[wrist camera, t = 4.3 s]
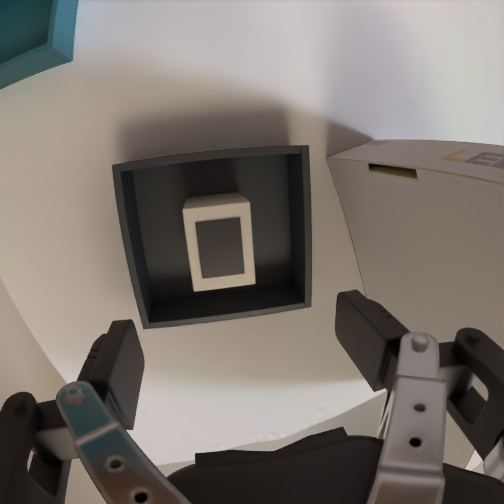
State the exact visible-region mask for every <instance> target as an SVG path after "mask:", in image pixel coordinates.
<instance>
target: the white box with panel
mask: <svg viewBox="0 0 504 504" xmlns="http://www.w3.org/2000/svg"><path fill="white" fill-rule="evenodd" d="M182 211H183V220H184V227H185V235H186V242H187V250H188V257H189V264H190V270H191V277H192V283H193V289H194V291H195V292H196V291H204V290H212V289H220V288H228V287H236V286H243V285H251V284H255V283H256V281H255V267H254V253H253V239H252V225H251V211H250V202H249V201H248V200H247V199H246V198H245V197H244V196H243V195H242V194H241V193H239V192H234V193H224V194H215V195H206V196H197V197H189V198H186V200H185V203H184V207H183V210H182Z"/></svg>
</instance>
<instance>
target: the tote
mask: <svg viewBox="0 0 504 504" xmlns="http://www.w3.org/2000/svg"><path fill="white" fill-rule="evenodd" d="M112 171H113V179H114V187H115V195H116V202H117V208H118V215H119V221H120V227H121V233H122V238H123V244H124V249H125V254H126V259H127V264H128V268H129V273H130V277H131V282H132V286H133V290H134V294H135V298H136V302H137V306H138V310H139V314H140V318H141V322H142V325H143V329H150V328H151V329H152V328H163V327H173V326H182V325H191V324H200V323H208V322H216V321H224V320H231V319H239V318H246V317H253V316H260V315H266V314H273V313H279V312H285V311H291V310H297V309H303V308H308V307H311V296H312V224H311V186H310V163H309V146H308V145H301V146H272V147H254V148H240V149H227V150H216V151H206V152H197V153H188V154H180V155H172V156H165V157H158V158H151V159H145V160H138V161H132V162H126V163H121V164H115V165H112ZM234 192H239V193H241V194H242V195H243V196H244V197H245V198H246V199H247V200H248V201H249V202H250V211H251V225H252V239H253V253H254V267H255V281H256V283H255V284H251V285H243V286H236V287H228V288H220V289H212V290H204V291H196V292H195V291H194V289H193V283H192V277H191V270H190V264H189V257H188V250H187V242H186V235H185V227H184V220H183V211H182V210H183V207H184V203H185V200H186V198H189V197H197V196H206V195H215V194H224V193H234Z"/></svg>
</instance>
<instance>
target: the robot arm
mask: <svg viewBox="0 0 504 504" xmlns="http://www.w3.org/2000/svg"><path fill="white" fill-rule="evenodd" d="M335 333H336V337H337V339H338V341H339V342H340V344H341V345H342V347H343V348H344V349H345V351H346V352H347V354H348V355H349V357H350V358H351V359H352V361H353V362H354V364H355V365H356V367H357V368H358V369H359V371H360V372H361V374H362V375H363V377H364V378H365V379H366V381H367V382H368V384H369V385H370V387H371V388H372V390H373V391H374V392H376V391H379V390H382V389H384V388H386V390H387V391H388V392H387V395H386V399H385V403H384V407H383V411H382V416H381V420H380V424H379V428H378V432H377V435H376V437H370V436H362V435H349V436H347V434H346V432H345V430H344V428H343V427H339V428H336V429H333V430H329V431H325V432H321V433H318V434H314V435H310V436H307V437H305V438H303V439H301V440H299V441H296V442H294V443H292V444H290V445H287V446H285V447H283V448H281V449H278V450H275V451H243V450H226V451H217V452H207V453H195V464H192V465H189V466H186V467H184V468H181V469H180V470H177V471H175V472H174V473H172V474H171V475H169V476H168V477H165V476H164V475H163V474H162V473H161V472H160V471H159V469H158V468H157V467H156V466H155V465H154V464H153V463H152V462H151V460H150V459H149V458H148V457H147V456H146V455H145V453H144V452H143V451H142V450H141V449H140V447H139V446H138V445H137V444H136V443H135V441H134V440H133V439H132V438H131V436H130V435H129V434H128V432H127V431H126V430H133V427H134V421H135V415H136V409H137V403H138V398H139V392H140V387H141V381H142V376H143V371H144V355H143V351H142V348H141V345H140V341H139V338H138V335H137V331H136V328H135V325H134V322H133V321H132V320H131V319H129V320H117V321H113V322H112V324H111V326H110V328H109V330H108V333H107V334H102V335H101V336H100V337H99V338H98V339H97V340H96V341H94V343H93V345H92V348H91V350H90V352H89V354H88V356H87V359H86V361H85V363H84V365H83V367H82V370H81V372H80V374H79V376H78V379H77V381H75V382H71V383H69V384H67V385H65V386H64V387H62V388H61V389H60V391H59V392H58V393H57V396H56V400H51V401H46V402H41V403H37V401H36V400H35V398H34V396H32V394H30V393H28V392H19V393H16V394H14V395H12V396H10V397H9V398H8V399H7V400H6V401H5V403H4V405H3V407H2V409H1V411H0V504H64V503H65V496H66V495H65V494H66V489H67V483H68V476H69V471H70V466H71V460H72V459H76V458H80V460H81V462H82V464H83V466H84V467H85V469H86V471H87V473H88V474H89V476H90V478H91V479H92V481H93V483H94V484H95V486H96V488H97V489H98V491H99V492H100V494H101V495H102V497H103V498H104V500H105V501H106V503H107V504H504V350H503V349H502V348H501V347H500V346H499V345H498V344H496V343H495V342H494V341H493V340H492V339H491V338H490V337H488V336H487V335H486V334H485V333H484V332H482V331H480V330H478V329H475V328H470V327H466V328H462V329H460V330H458V331H457V333H456V336H455V339H454V341H451V342H442V343H438V341H437V340H436V339H435V338H434V337H433V336H431V335H429V334H427V333H424V332H410V331H409V330H408V329H407V328H406V327H405V326H404V325H403V324H402V323H401V322H400V321H398V320H397V319H396V318H395V317H393V315H392V314H391V313H390V312H389V311H388V312H387V309H385V308H384V307H383V306H382V305H381V304H380V303H378V302H375V301H373V300H371V299H367V298H366V297H364V296H363V295H362V294H361V293H360V292H359V291H358V290H351V291H345V292H340V293H338V295H337V303H336V317H335ZM475 376H477V378H478V379H479V380H480V381H481V382H482V383H483V384H484V385H485V386H486V388H487V390H488V399H487V401H486V400H485V399H484V398H483V397H482V396H481V395H480V394H479V392H478V391H477V390H476V389H475V388H474V387H473V386H472V383H473V380H474V378H475ZM446 410H447V412H448V413H449V414H450V416H451V417H452V418H453V420H454V421H455V422H456V424H457V425H458V426H459V428H460V429H461V431H462V432H463V433H464V435H465V436H466V438H467V439H468V440H469V442H470V443H471V445H472V446H473V447H474V449H475V450H476V452H477V453H478V455H479V456H480V457H481V459H482V460H483V461H484V465H483V468H484V472H485V473H484V474H480V473H477V472H473V471H470V470H466V469H463V468H460V467H457V466H453V465H450V464H447V463H444V462H443V457H444V446H445V431H446ZM31 450H32V451H33V452H34V454H33V458H32V461H31V465H30V468H29V472H28V470H27V462H28V458H29V455H30V452H31Z"/></svg>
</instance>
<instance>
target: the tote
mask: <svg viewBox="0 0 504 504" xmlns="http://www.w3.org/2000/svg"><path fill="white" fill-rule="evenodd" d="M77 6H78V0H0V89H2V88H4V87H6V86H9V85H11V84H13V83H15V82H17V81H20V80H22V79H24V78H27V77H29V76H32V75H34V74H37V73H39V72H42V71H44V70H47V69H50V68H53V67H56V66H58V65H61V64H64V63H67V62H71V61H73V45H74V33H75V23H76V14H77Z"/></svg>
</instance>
